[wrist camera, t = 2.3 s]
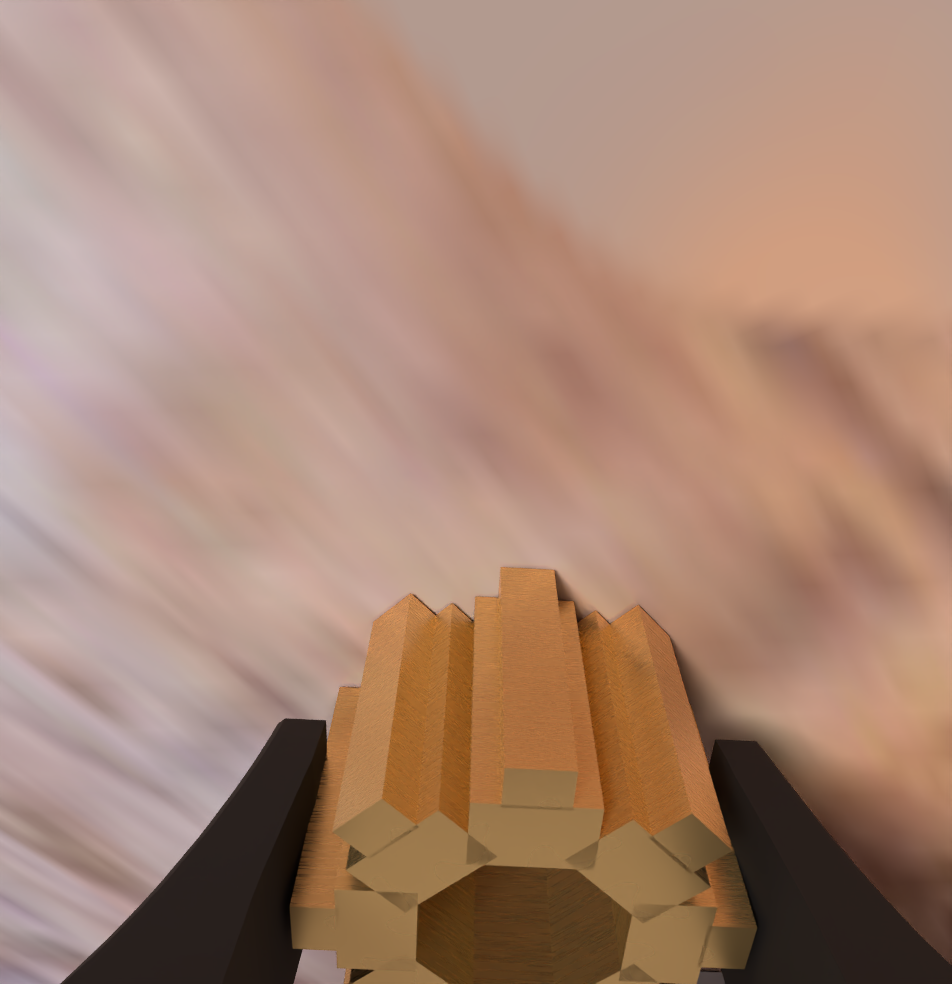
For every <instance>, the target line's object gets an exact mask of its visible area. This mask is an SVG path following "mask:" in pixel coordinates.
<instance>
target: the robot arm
mask: <svg viewBox="0 0 952 984" xmlns="http://www.w3.org/2000/svg"><path fill="white" fill-rule="evenodd" d="M326 754H327V736H326V720H305V719H284V720H282V721H281V722H280V723H278V724H277V726H276V728H275V730H274V731H273V733H272V735H271V736H270V738H269V740H268V741H267V743H266V744H265V746H264V747H263V749H262V751H261V752H260V754H259V755H258V757H257V758H256V760H255V761H254V763H253V764H252V766H251V767H250V769H249V770H248V772H247V773H246V774H245V776H244V777H243V779H242V780H241V782H240V783H239V784H238V786H237V787H236V789H235V790H234V792H233V793H232V794H231V796H230V797H229V798H228V800H227V801H226V802H225V804H224V805H223V806H222V808H221V809H220V810H219V812H218V813H217V814H216V816H215V817H214V818H213V819H212V821H211V822H210V823H209V825H208V826H207V827H206V829H205V830H204V831H203V833H202V834H201V835H200V836H199V838H198V839H197V840H196V841H195V842H194V844H193V845H192V846H191V847H190V848H189V850H188V851H187V852H186V853H185V854H184V856H183V857H182V858H181V859H180V860H179V861H178V863H177V864H176V865H175V866H174V867H173V869H172V870H171V871H170V872H169V873H168V875H167V876H166V877H165V878H164V879H163V880H162V882H161V883H160V884H159V885H158V886H157V887H156V888H155V889H154V891H153V892H152V893H151V894H150V895H149V896H148V897H147V898H146V899H145V900H144V902H143V903H142V904H141V905H140V906H139V907H138V908H137V909H136V910H135V911H134V912H133V913H132V914H131V915H130V916H129V917H128V919H127V920H126V921H125V922H124V923H123V924H122V925H121V926H120V927H119V928H118V929H117V930H116V931H115V932H114V933H113V934H112V935H111V936H110V937H109V938H108V939H107V940H106V941H105V942H104V943H103V944H102V945H101V946H100V947H99V948H98V949H97V950H96V951H94V952H93V953H92V954H91V955H90V956H89V957H88V958H87V959H86V960H85V961H84V962H83V963H82V964H81V965H80V966H79V967H78V968H77V969H76V970H74V971H73V972H72V973H71V974H70V975H69V976H68V977H67V978H66V979H65V980H64V981H63V982H62V983H61V984H293V983H294V979H295V976H296V972H297V968H298V964H299V961H300V957H301V953H302V950H303V949H293V946H292V933H291V920H290V902H291V898H292V894H293V889H294V885H295V881H296V876H297V872H298V867H299V863H300V859H301V854H302V850H303V846H304V841H305V837H306V832H307V828H308V824H309V821H310V818H311V815H312V812H313V809H314V806H315V803H316V798H317V794H318V790H319V785H320V781H321V776H322V772H323V767H324V763H325V759H326ZM709 772H710V775H711V779H712V782H713V785H714V789H715V792H716V795H717V799H718V802H719V806H720V809H721V812H722V816H723V819H724V822H725V826H726V829H727V833H728V835H729V838H730V840H731V843H732V845H733V848H734V852H735V855H736V858H737V862H738V865H739V869H740V872H741V875H742V879H743V882H744V885H745V889H746V892H747V895H748V899H749V902H750V906H751V909H752V912H753V916H754V919H755V922H756V926H757V931H756V934H755V937H754V940H753V944H752V947H751V950H750V953H749V956H748V960H747V963H746V966H745V969H727V968H721V971H722V974H723V978H724V981H725V984H952V966H951V965H950V964H949V963H948V962H947V961H946V960H945V959H944V958H943V957H942V956H941V955H940V954H939V953H937V952H936V951H935V950H934V949H933V948H932V947H931V946H930V945H929V944H928V943H927V942H926V941H925V940H924V939H923V938H922V937H921V936H920V935H919V934H918V933H917V932H916V931H915V930H914V929H913V928H912V927H911V926H910V925H909V923H908V922H907V921H906V920H905V919H904V918H903V917H902V916H901V915H900V914H899V913H898V912H897V911H896V910H895V908H894V907H893V906H892V905H891V904H890V903H889V902H888V901H887V900H886V899H885V898H884V897H883V895H882V894H881V893H880V892H879V891H878V890H877V889H876V888H875V887H874V885H873V884H872V883H871V882H870V881H869V880H868V879H867V878H866V876H865V875H864V874H863V873H862V872H861V871H860V870H859V868H858V867H857V866H856V865H855V864H854V862H853V861H852V860H851V859H850V858H849V857H848V855H847V854H846V853H845V852H844V851H843V849H842V848H841V847H840V846H839V845H838V844H837V842H836V841H835V840H834V839H833V838H832V836H831V835H830V834H829V833H828V832H827V830H826V829H825V828H824V827H823V825H822V824H821V823H820V822H819V821H818V819H817V818H816V817H815V816H814V814H813V813H812V812H811V811H810V809H809V808H808V807H807V805H806V804H805V803H804V802H803V800H802V799H801V798H800V797H799V795H798V794H797V793H796V791H795V790H794V789H793V788H792V786H791V785H790V784H789V782H788V781H787V780H786V779H785V777H784V776H783V775H782V773H781V772H780V771H779V770H778V768H777V767H776V766H775V764H774V763H773V762H772V760H771V759H770V758H769V757H768V755H767V754H766V753H765V751H764V750H763V749H762V748H761V747H760V745H759V744H758V743H757V742H755V741H735V740H715V743H714V748H713V752H712V756H711V760H710V764H709Z"/></svg>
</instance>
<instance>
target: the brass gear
mask: <svg viewBox="0 0 952 984" xmlns="http://www.w3.org/2000/svg"><path fill="white" fill-rule="evenodd" d="M290 920H291V933H292V946H293V949H312V950H334V951H337V968H346V972H345V979H344V984H697V980H698V977H699V973H700V969H701V967H705V968H727V969H745V966H746V963H747V960H748V956H749V953H750V950H751V947H752V944H753V940H754V937H755V934H756V931H757V926H756V922H755V919H754V916H753V912H752V909H751V906H750V902H749V899H748V895H747V892H746V889H745V885H744V882H743V879H742V875H741V872H740V869H739V865H738V862H737V858H736V855H735V852H734V848H733V845H732V843H731V840H730V838H729V835H728V833H727V829H726V826H725V822H724V819H723V816H722V812H721V809H720V806H719V802H718V799H717V795H716V792H715V789H714V785H713V782H712V779H711V775H710V772H709V764H708V761H707V758H706V754H705V751H704V748H703V744H702V741H701V737H700V734H699V731H698V727H697V724H696V721H695V717H694V714H693V711H692V707H691V704H689V701H688V697H687V694H686V691H685V687H684V684H683V681H682V677H681V674H680V670H679V667H678V664H677V660H676V657H675V654H674V650H673V647H672V643H671V640H670V637H669V636H668V635H667V634H666V633H665V632H664V631H663V629H662V628H661V627H660V626H659V625H658V624H657V623H656V622H655V621H654V620H653V619H652V618H651V617H650V616H649V615H648V614H647V613H646V612H645V611H644V610H643V609H642V608H641V607H640V606H639V605H637V606H636V607H634V608H633V609H631V610H630V611H628V612H627V613H625V614H624V615H623V616H621V617H620V618H618V619H617V620H615V621H614V622H612V623H611V624H609V623H608V622H607V621H606V620H605V619H604V618H603V617H602V616H601V615H600V614H599V613H598V612H597V611H596V610H595V611H594V612H592V613H591V614H589V615H588V616H587V617H585V618H584V619H582V620H581V621H579V622H578V623H577V619H576V613H575V606H574V601H558V597H557V589H556V580H555V572H554V570H546V569H527V568H507V567H501V570H500V583H499V596H498V598H495V597H475V610H474V622H472V621H471V620H470V619H469V618H468V617H467V616H466V615H465V614H464V613H463V612H461V611H460V610H459V609H458V608H457V607H456V606H455V605H454V604H453V603H452V604H450V605H449V606H448V607H446V608H445V609H444V610H442V611H441V612H440V613H438V614H437V615H434V614H433V613H432V612H431V611H430V610H429V609H428V608H427V607H425V606H424V605H423V604H422V603H421V602H420V601H419V600H418V599H416V598H415V597H414V596H413V595H412V594H411V593H410V594H409V595H408V596H407V597H405V598H404V599H403V600H401V601H400V602H399V603H397V604H396V605H395V606H393V607H392V608H391V609H390V610H388V611H387V612H386V613H384V614H383V615H382V616H380V617H379V618H378V619H377V620H375V621H374V622H373V627H372V632H371V637H370V642H369V647H368V653H367V658H366V663H365V668H364V673H363V678H362V683H361V688H351V687H340V688H339V692H338V697H337V701H336V706H335V710H334V714H333V719H332V723H331V727H330V732H329V736H328V741H327V754H326V759H325V763H324V767H323V772H322V776H321V781H320V785H319V790H318V794H317V798H316V803H315V806H314V809H313V812H312V815H311V818H310V821H309V824H308V828H307V832H306V837H305V841H304V846H303V850H302V854H301V859H300V863H299V867H298V872H297V876H296V881H295V885H294V889H293V894H292V898H291V902H290Z"/></svg>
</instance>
